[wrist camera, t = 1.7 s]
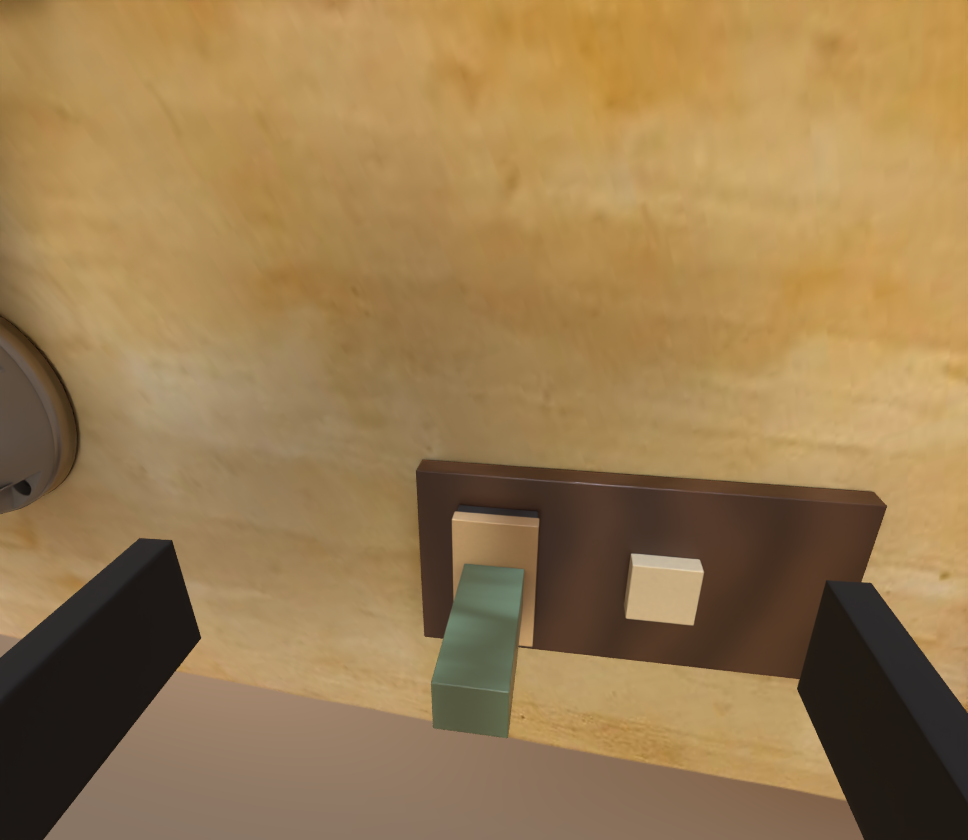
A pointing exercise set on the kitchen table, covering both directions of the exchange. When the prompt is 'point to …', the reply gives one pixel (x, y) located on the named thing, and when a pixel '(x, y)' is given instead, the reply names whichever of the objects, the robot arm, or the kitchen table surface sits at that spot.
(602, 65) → the kitchen table surface
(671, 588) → the cream square tile
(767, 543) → the walnut board
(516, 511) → the green block on base
